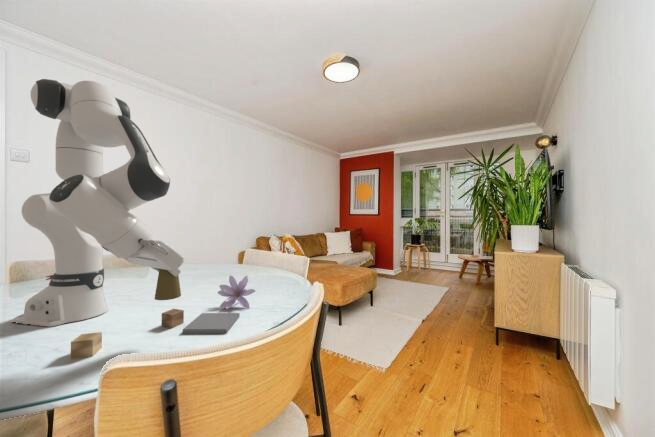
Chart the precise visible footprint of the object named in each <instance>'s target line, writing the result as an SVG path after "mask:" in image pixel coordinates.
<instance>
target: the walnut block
mask: <svg viewBox="0 0 655 437" xmlns="http://www.w3.org/2000/svg"><path fill="white" fill-rule="evenodd" d="M184 312H185V311H184V310H183V309H178V308H172V309H169V310H167V311H164V312H161V327H162V328H166V329H167V328H168V329H174V328H176V327H179V326H181V325H182V324H184V322H185V321H184V320H185V316H184V314H185V313H184Z"/></svg>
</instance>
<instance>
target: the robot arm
mask: <svg viewBox="0 0 655 437" xmlns="http://www.w3.org/2000/svg"><path fill="white" fill-rule="evenodd" d="M30 100H31V102H32V104H33V106H34V109H35V110H36V111H37V112H38V113H39V114H40V115H41V116H44V117H47V118H50V119H53V120H59V121H60V122H59V124H58V127H57V132H56V136H55V172H56V175H57V176H58V177H59V178H60V179H62V181H61V182H60V183H59V184H58V185H56V186H55V187H54V188H53V189H52V190H51V192H50V193H39V194H33V195H31V196H29V197H28V198H27V199H25V201H24V202H23V204H22V207H21V216H22V218H23V220H24V221H25V222H26V223H27V224H28V225H29V226H31V227H33V228H34V229H37V230H38V231H40V232H41V233H42V234H44V235H45V237H47V239H48V241H49V242H50V244H51V246H52V248H53V251H54V252H53V253H54V267H55V268H54V273H53V274H51V275H48V276H47V275H46V276H45V281H47V280H48V281H49V283H48V286H46V287H45V288H43V289H41V291H39V292H37V293H36V294H34V295H33V296H32V297H30V298H29V299H27V301H26V302H25V304H24V308H23V309H24V311H23V314H20V315H17V316H16V317H14V318H13V319H11V323H12V322H17V323H23V324H22V325H27V324H31V325H30V326H38V325H39V327H55V326H59V325H63V324H67V323H73V322H79V321H83V320H88V319H91V318H94V317H97V316H100V315H103V314H105V313H106V312H108V311H109V307H108V304H107V300H106V297H105V291H104V282H105V281H104V280H105V269H104V268H103V256H104V254H103V249H104V250H105V251H107V252H110V253H111V254H113V255H114V256H115V257H117V258H119V259H124V260H125V261H126V262H128V263H131V264H134V265H139V266H144V267H148V268H151V269H152V270H155V271H157V272H158V273H159V269H164V270H168V271H169V274H171V275H172V276H179V275H180V274H181V270H180V269H179V268H180V267H181V266H182V265H183V263H184V262H185V258H184V257H183V256H182V255H181V254H180V253H179V252H178V251H176V250H175V249H174V248H172V247H171V246H170V245H168V244H167V243H166V242H163V241H161V240H156V239H153V238H152V235H153V231H152V229H151V228H149V227H148V226H147V225H146V224H145V223H144V222H142V220H140V219H139V217H137V216H136V215H134V214H132V213H130V212H129V211H131V210H134V209H136V208H138V207H140V206H142V205H144V204H146V203H149V202H151V201H155V200H157V199H159V198H162V197H165V196H166V195H167V194H168V192H169V189H170V185H171V178H170V177H169V175H168V173H167V171H166V170H165V168H164V167H163V166H162V164H161V163H160V161H159V160H158V159H157V157H156V155H155V153H154V151H153V150H152V147H151V146H150V144H149V142H148V140H147V139H146V137H145V135H144V133H143V132H142V131H141V128H140V127H139V126H138V125H137V124H136V123H135V122H134V121H133V120H132V115H131V109H130V107H129V106H128V104H127V102H126V101H123V100H121V99H119V98H117V97H115V96H114V93H113V92H112V91H111V90H110V89H109V88H108V87H106V86H105V85H103V84H101V83H100V82H98V81H97V82H96V81H93V80H80V81H78V82H76V83H74V84H67V83H63V82H59V81H58V80H55V79H48V78H42V79H39V80H36V81H35V84H33V85H32V87H31V89H30ZM121 146H125V148H126V150H127V152H128V153H129V156H130V159H128V161H127V162H126V163H125V164H123V165H121V166H119V167H117V168H116V169H113V170H110V171H108V172H107V173H104V162H103V161H104V157H103V153H104V152H103V148H117V147H121ZM86 234H88V235H90V236H92V237H93V238H94V239H95V240H92V239H89V238H88V237H87V235H86ZM17 323H16V324H17Z"/></svg>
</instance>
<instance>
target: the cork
mask: <svg viewBox="0 0 655 437" xmlns="http://www.w3.org/2000/svg"><path fill="white" fill-rule="evenodd" d="M179 277H180V276H179V275H178V276H172V275H171V274H169V271H168V270H164V269H159V272H158V276H157V280H156V287H155V289H156V290H155V295H154V300H155V301H171V300H174V299H178V298H180V297H181V296H182V293H181V292H182V291H181V287H180V286H181V285H180V278H179Z"/></svg>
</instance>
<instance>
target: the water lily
mask: <svg viewBox="0 0 655 437" xmlns="http://www.w3.org/2000/svg"><path fill="white" fill-rule="evenodd" d="M228 282H229V285H228V284H220V285H219V286H218V287H219V289H220V290H219V291H217V295H219V296H221V297H226V299H225V300H224V301H223V302H222V303H221V304H220V306H219V310H223V309H230V308H232V307H233V306H234V304H236V302H237V301H238V304H239V306H242V308H244V309H245V310H250V303H249V302H248V300H247V298H246V296H249V295H252V294H254V293H255V292H256V289H253V288H249V289H246V287H247V285H248V282H249V276H248V275H245V276H244V277H243V278H242V279H241V280H240V281H239V282H237V280H236V278H235V277H234V276H233V275H229V277H228Z"/></svg>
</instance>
